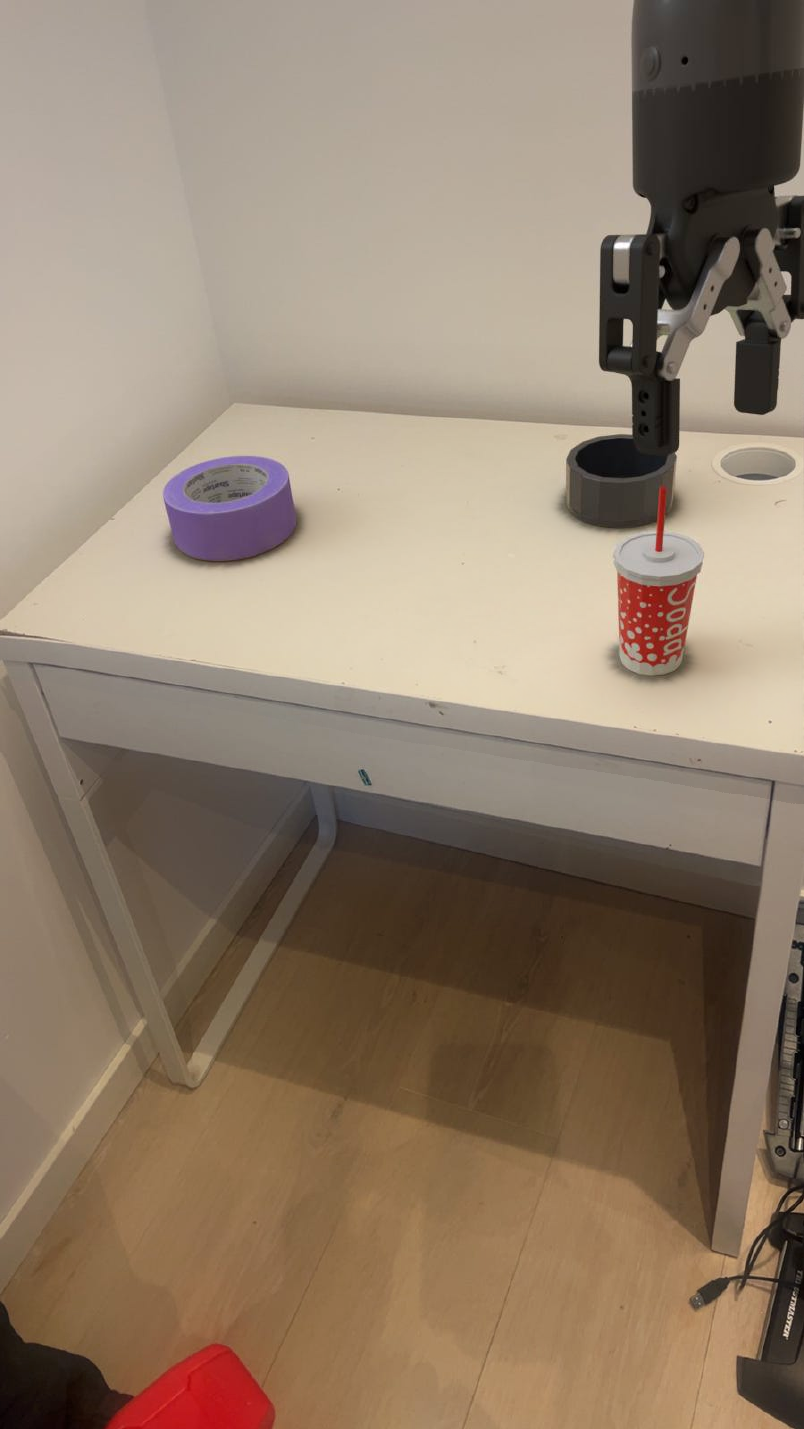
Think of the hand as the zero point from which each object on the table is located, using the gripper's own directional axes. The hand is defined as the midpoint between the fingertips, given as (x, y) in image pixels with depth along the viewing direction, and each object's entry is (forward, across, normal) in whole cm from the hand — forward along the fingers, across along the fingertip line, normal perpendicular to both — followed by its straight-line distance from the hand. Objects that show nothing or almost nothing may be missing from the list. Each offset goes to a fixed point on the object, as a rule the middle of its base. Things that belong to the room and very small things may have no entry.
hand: (708, 431), depth 54 cm
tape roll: (+16, 0, +52) cm, 55 cm away
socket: (+17, +27, +28) cm, 42 cm away
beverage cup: (+21, +10, +11) cm, 26 cm away
